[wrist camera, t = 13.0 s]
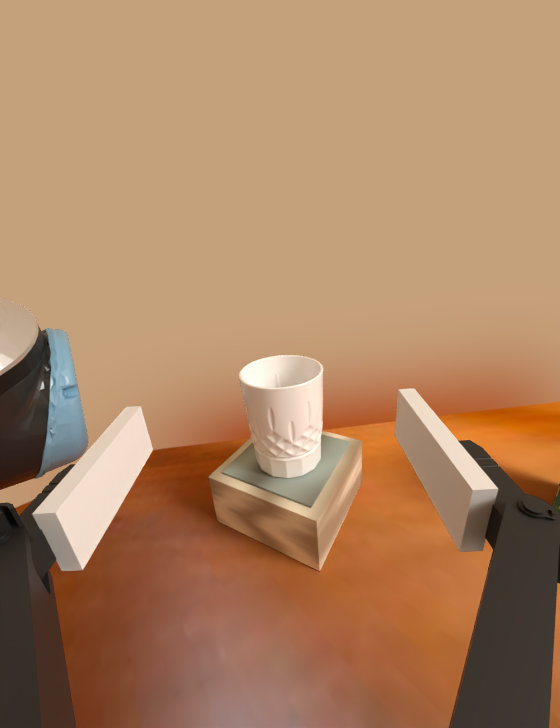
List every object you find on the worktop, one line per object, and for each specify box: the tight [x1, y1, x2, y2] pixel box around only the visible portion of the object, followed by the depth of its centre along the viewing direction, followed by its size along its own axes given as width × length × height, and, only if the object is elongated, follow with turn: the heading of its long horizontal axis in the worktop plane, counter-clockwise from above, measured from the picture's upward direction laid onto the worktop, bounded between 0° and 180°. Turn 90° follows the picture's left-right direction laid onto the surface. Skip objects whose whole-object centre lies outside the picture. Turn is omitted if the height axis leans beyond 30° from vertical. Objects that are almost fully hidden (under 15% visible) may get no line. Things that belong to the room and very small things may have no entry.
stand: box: [208, 431, 362, 571], centre depth 34 cm, size 12×12×6 cm
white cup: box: [239, 355, 323, 478], centre depth 31 cm, size 8×8×10 cm
